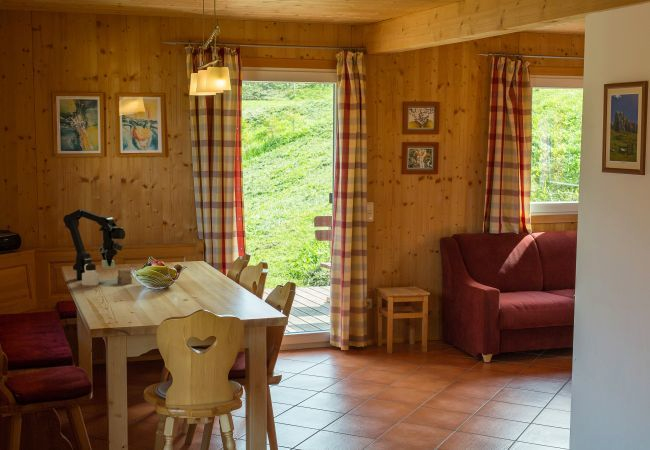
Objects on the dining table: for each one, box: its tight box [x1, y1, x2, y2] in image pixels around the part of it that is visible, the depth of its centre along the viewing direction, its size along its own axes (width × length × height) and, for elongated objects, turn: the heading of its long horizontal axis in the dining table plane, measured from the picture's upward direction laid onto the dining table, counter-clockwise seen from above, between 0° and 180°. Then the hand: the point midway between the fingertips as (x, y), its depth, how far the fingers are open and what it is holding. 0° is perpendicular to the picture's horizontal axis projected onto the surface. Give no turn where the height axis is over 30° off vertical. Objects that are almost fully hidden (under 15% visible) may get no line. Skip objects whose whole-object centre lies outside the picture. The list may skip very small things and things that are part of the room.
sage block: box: [101, 259, 116, 269], centre depth 490 cm, size 6×6×4 cm
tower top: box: [117, 268, 132, 277], centre depth 482 cm, size 6×6×4 cm
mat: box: [99, 278, 135, 287], centre depth 486 cm, size 23×17×1 cm
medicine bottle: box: [81, 263, 100, 286], centre depth 478 cm, size 7×7×12 cm
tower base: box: [116, 275, 133, 286], centre depth 483 cm, size 6×6×4 cm
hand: (108, 265), depth 490 cm, fingers closed on sage block, 6 cm apart
